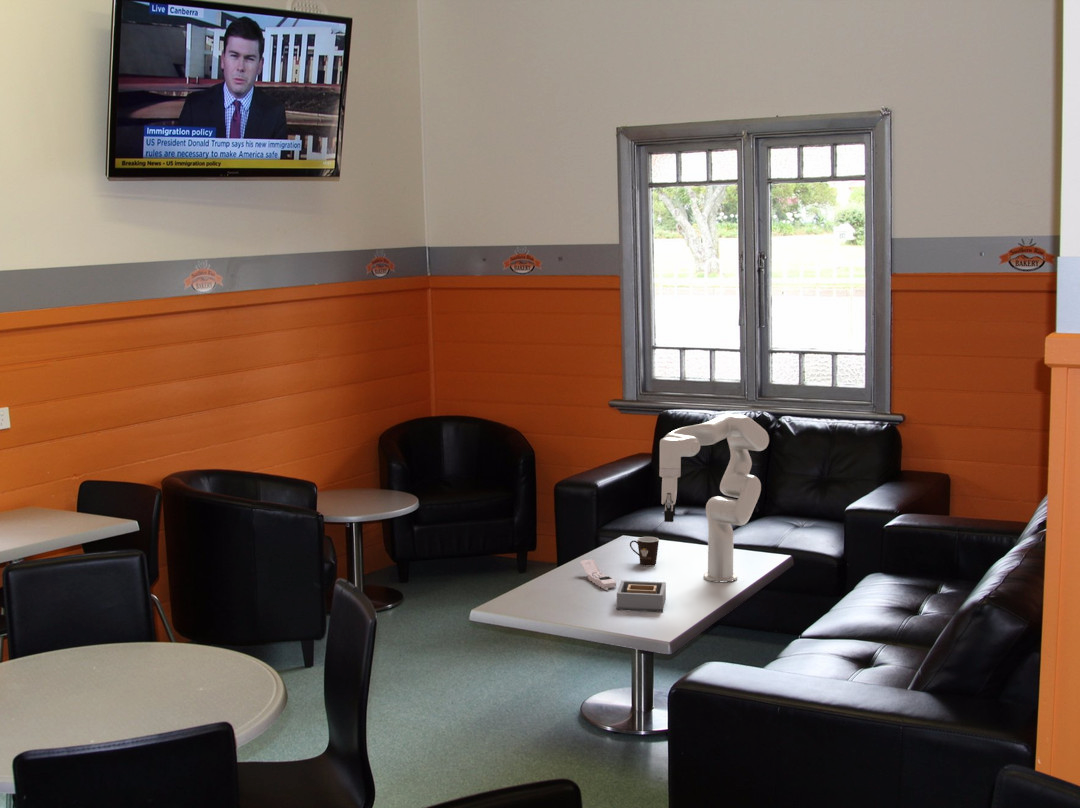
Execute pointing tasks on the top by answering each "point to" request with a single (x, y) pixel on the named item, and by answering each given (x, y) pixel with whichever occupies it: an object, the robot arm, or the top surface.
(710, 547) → the robot arm
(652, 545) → the coffee mug
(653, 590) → the box
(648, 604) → the grey open box
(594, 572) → the mobile phone
